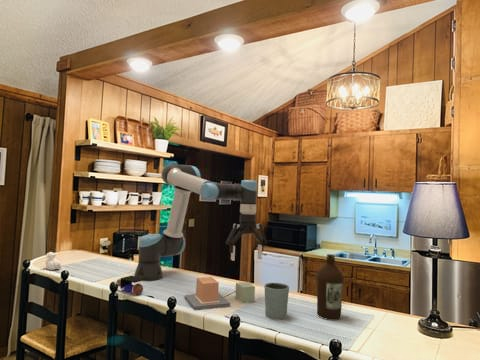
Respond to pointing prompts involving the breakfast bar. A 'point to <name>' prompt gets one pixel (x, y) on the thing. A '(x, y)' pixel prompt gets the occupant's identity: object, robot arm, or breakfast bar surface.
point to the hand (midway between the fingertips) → (246, 259)
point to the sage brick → (245, 292)
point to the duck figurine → (52, 262)
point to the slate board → (198, 305)
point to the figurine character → (127, 284)
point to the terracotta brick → (207, 289)
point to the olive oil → (329, 290)
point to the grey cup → (276, 300)
